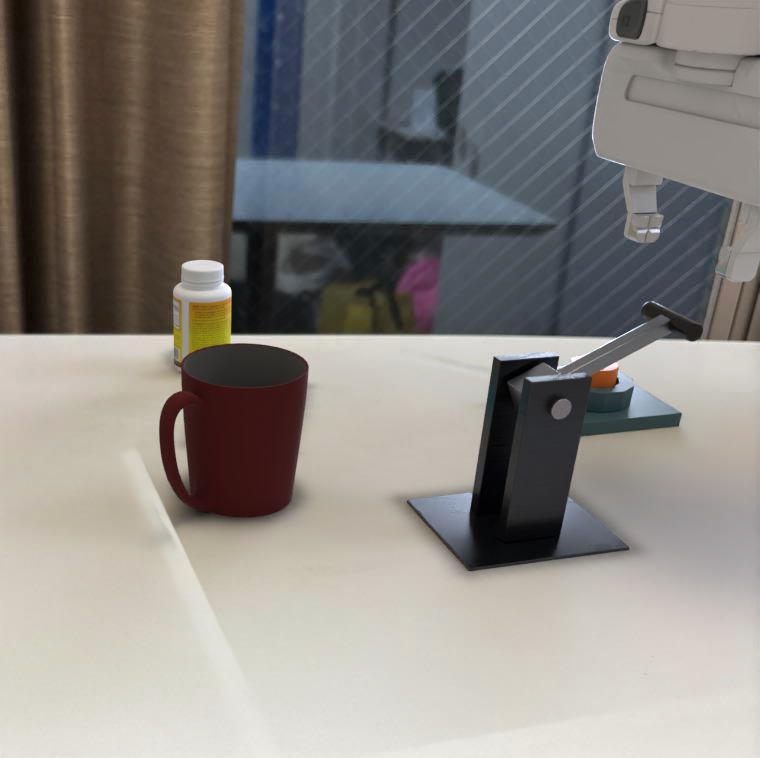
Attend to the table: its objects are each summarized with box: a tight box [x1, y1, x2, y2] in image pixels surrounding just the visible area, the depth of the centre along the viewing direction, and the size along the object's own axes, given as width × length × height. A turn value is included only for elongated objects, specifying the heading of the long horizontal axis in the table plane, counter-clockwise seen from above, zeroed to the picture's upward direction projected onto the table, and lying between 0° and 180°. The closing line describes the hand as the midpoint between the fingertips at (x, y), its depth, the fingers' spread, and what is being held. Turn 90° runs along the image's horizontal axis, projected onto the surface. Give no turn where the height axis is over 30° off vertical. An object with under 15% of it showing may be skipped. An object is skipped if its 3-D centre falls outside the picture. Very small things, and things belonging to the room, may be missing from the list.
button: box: [570, 354, 620, 388], centre depth 90 cm, size 4×4×2 cm
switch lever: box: [507, 300, 704, 412], centre depth 69 cm, size 12×5×2 cm, turn 105°
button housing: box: [557, 364, 683, 437], centre depth 92 cm, size 12×10×4 cm
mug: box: [158, 342, 310, 519], centre depth 74 cm, size 12×9×11 cm
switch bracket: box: [406, 351, 630, 572], centre depth 71 cm, size 12×10×13 cm
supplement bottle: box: [172, 259, 233, 373], centre depth 100 cm, size 6×6×10 cm
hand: (683, 258), depth 67 cm, fingers open, 8 cm apart
